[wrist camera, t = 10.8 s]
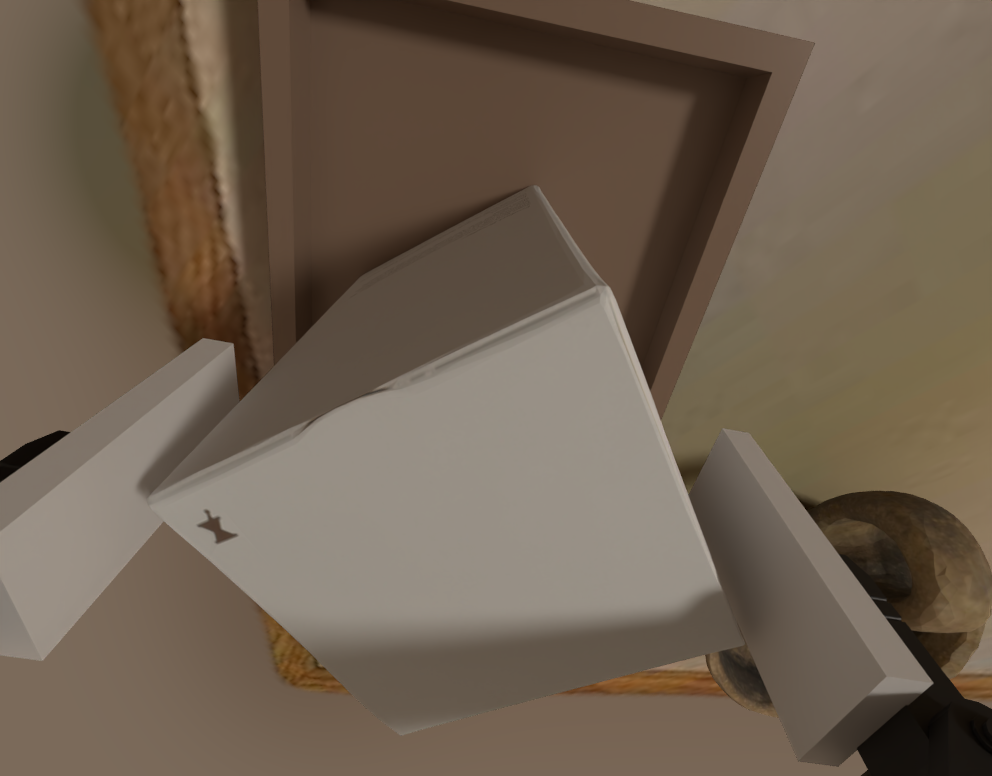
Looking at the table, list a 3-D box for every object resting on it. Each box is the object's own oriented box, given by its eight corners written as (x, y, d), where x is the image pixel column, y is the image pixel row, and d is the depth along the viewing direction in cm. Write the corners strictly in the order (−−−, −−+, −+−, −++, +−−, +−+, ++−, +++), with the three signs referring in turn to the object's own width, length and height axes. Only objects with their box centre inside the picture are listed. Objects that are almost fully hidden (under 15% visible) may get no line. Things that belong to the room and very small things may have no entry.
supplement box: (452, 426, 25) (391, 751, 12) (356, 274, 21) (114, 503, 8) (616, 358, 23) (760, 660, 10) (541, 177, 19) (612, 275, 6)
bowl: (660, 632, 34) (713, 807, 25) (701, 422, 26) (802, 575, 17) (860, 631, 33) (986, 810, 25) (967, 417, 25) (1216, 572, 16)
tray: (287, -57, 17) (253, -86, 14) (777, 53, 18) (815, 42, 16) (298, 478, 28) (280, 508, 26) (597, 524, 29) (605, 557, 27)
